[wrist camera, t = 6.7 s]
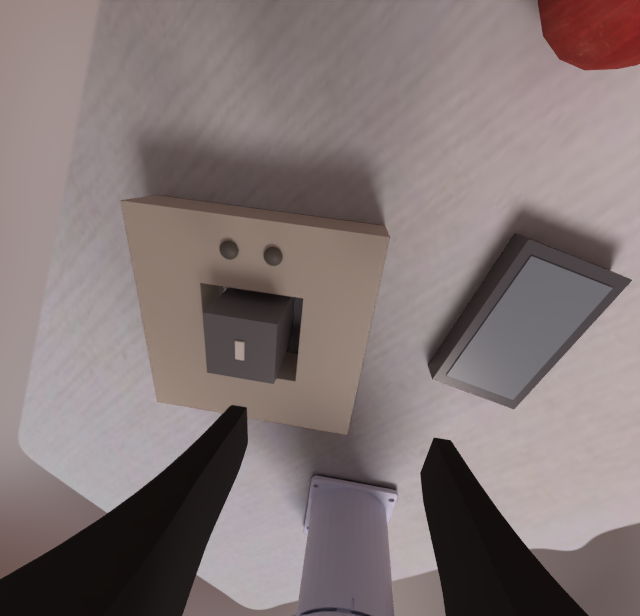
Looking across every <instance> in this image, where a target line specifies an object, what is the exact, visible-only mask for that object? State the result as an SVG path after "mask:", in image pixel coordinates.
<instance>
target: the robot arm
mask: <svg viewBox="0 0 640 616" xmlns="http://www.w3.org/2000/svg"><path fill="white" fill-rule="evenodd" d="M247 444H248V433H247V407H242V406H236V405H231V406H229V407H228V408H227V410H226V411H225V412H224V413H223V414H222V415H221V416H220V417H219V418H218V419H217V420H216V421H215V422H214V423H213V425H212V426H211V427H210V428H209V429H208V430H207V431H206V432H205V433H204V434H203V435H202V436H201V437H200V438H199V439H198V440H196V441H195V442H194V443H193V444H192V445H191V446H190V447H189V448H188V449H187V450H186V451H185V452H184V453H183V454H182V455H181V456H179V457H178V458H177V459H176V460H175V461H174V462H173V463H172V464H170V465H169V466H168V467H167V468H166V469H165V470H164V471H162V472H161V473H160V474H159V475H158V476H156V477H155V478H154V479H153V480H152V481H150V482H149V483H148V484H147V485H145V486H144V487H143V488H141V489H140V490H139V491H138V492H136V493H135V494H134V495H132V496H131V497H130V498H128V499H127V500H125V501H124V502H123V503H121V504H120V505H119V506H117V507H116V508H115V509H113V510H112V511H110V512H109V513H107V514H106V515H105V516H103V517H102V518H100V519H99V520H97V521H96V522H94V523H93V524H91V525H90V526H88V527H87V528H85V529H83V530H82V531H80V532H79V533H77V534H76V535H74V536H72V537H71V538H69V539H68V540H66V541H65V542H63V543H62V544H60V545H58V546H57V547H55V548H53V549H52V550H50V551H48V552H47V553H45V554H43V555H42V556H40V557H38V558H37V559H35V560H33V561H32V562H29V563H28V564H26V565H24V566H23V567H21V568H19V569H17V570H16V571H14V572H12V573H11V574H9V575H7V576H5V577H3V578H2V579H0V616H182V614H183V612H184V609H185V606H186V603H187V600H188V597H189V593H190V591H191V588H192V585H193V582H194V579H195V576H196V573H197V571H198V568H199V565H200V562H201V559H202V556H203V553H204V551H205V548H206V545H207V543H208V540H209V538H210V535H211V533H212V531H213V528H214V526H215V524H216V522H217V519H218V517H219V515H220V513H221V510H222V508H223V506H224V504H225V501H226V499H227V497H228V495H229V492H230V490H231V488H232V485H233V483H234V481H235V479H236V476H237V474H238V472H239V469H240V466H241V463H242V460H243V457H244V454H245V451H246V447H247ZM420 474H421V484H422V493H423V502H424V507H425V512H426V517H427V521H428V526H429V531H430V535H431V540H432V544H433V549H434V553H435V558H436V562H437V567H438V571H439V576H440V581H441V587H442V592H443V598H444V605H445V613H446V616H588V615H587V614H586V613H585V612H584V610H583V609H582V608H581V607H580V606H579V605H578V604H577V603H576V602H575V601H574V600H573V599H572V598H571V597H570V596H569V594H568V593H566V591H565V590H564V589H563V588H562V587H561V586H560V585H559V584H558V583H557V581H556V580H555V579H554V578H553V577H552V576H551V575H550V574H549V572H548V571H547V570H546V569H545V568H544V567H543V566H542V564H541V563H540V562H539V561H538V559H537V558H536V557H535V556H534V555H533V554H532V552H531V551H530V550H529V549H528V548H527V546H526V545H525V544H524V543H523V541H522V540H521V539H520V538H519V536H518V535H517V534H516V533H515V531H514V530H513V529H512V527H511V526H510V525H509V523H508V522H507V521H506V520H505V518H504V517H503V516H502V514H501V513H500V512H499V510H498V509H497V508H496V506H495V505H494V503H493V502H492V501H491V499H490V498H489V496H488V495H487V493H486V492H485V491H484V489H483V488H482V486H481V485H480V484H479V482H478V481H477V479H476V478H475V476H474V475H473V473H472V472H471V470H470V469H469V467H468V466H467V464H466V463H465V461H464V460H463V458H462V457H461V455H460V454H459V452H458V451H457V449H456V448H455V446H454V445H453V443H452V442H451V440H445V439H439V438H434V439H433V441H432V444H431V447H430V449H429V452H428V454H427V457H426V460H425V462H424V465H423V468H422V470H421V473H420ZM397 499H398V493H397V491H395V490H393V489H387V488H382V487H376V486H371V485H366V484H360V483H355V482H349V481H344V480H339V479H333V478H328V477H322V476H313V477H312V480H311V486H310V493H309V499H308V506H307V512H306V519H305V525H304V534H305V535H307V543H306V551H305V558H304V565H303V572H302V579H301V587H300V594H299V601H298V609H297V615H292V616H394V607H393V606H394V605H393V592H392V579H391V566H390V554H389V541H388V528H387V525H388V523H389V520H390V517H391V515H392V512H393V509H394V507H395V504H396V501H397Z"/></svg>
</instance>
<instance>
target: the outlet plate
mask: <svg viewBox="0 0 640 616" xmlns="http://www.w3.org/2000/svg"><path fill="white" fill-rule="evenodd" d="M121 206H122V211H123V217H124V222H125V228H126V233H127V239H128V244H129V250H130V255H131V261H132V266H133V272H134V277H135V283H136V288H137V294H138V299H139V305H140V310H141V316H142V321H143V327H144V332H145V338H146V343H147V349H148V354H149V360H150V365H151V371H152V376H153V382H154V387H155V393H156V398H157V402H162V403H168V404H173V405H179V406H185V407H190V408H196V409H202V410H207V411H213V412H219V413H224V412H225V411H226V410H227V408H228V407H229V406H231V405H236V406H242V407H247V418H253V419H259V420H264V421H270V422H276V423H281V424H287V425H293V426H298V427H304V428H310V429H315V430H321V431H327V432H332V433H338V434H344V435H347V434H348V429H349V425H350V420H351V415H352V411H353V406H354V402H355V397H356V392H357V388H358V383H359V378H360V374H361V369H362V365H363V360H364V355H365V351H366V346H367V341H368V337H369V332H370V327H371V323H372V318H373V314H374V309H375V304H376V300H377V295H378V290H379V286H380V281H381V276H382V272H383V267H384V263H385V258H386V253H387V249H388V244H389V239H390V236H389V234H388V231H387V229H386V227H385V226H382V225H375V224H367V223H360V222H352V221H345V220H338V219H330V218H323V217H315V216H308V215H300V214H293V213H286V212H278V211H271V210H263V209H256V208H248V207H241V206H233V205H226V204H219V203H211V202H204V201H196V200H189V199H181V198H174V197H167V196H159V195H153V196H147V197H140V198H134V199H127V200H121ZM223 286H224V287H230V288H237V289H244V290H250V291H257V292H264V293H270V294H277V295H283V296H290V297H297V298H303V307H302V318H301V329H300V339H299V350H298V354H294V353H287V352H286V354H285V357H284V359H283V362H282V364H281V367H280V370H279V372H278V375H277V378H276V380H275V383H274V384H270V383H264V382H259V381H253V380H247V379H241V378H235V377H229V376H224V375H218V374H212V373H207V365H206V351H205V336H204V322H203V312H204V311H205V310H206V309H207V308H208V307H209V306H210V305H211V304H212V303H213V302H214V301H215V300H216V299H217V298H218V297H219V296H220V295H222V294H223Z"/></svg>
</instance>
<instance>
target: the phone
mask: <svg viewBox="0 0 640 616" xmlns="http://www.w3.org/2000/svg"><path fill="white" fill-rule="evenodd" d="M631 281H632V280H631V279H629V278H626V277H624V276H622V275H619V274H617V273H615V272H612V271H610V270H607V269H605V268H602V267H600V266H597V265H595V264H592V263H590V262H587V261H585V260H582V259H579V258H577V257H574V256H572V255H569V254H567V253H564V252H562V251H559V250H557V249H554V248H552V247H549V246H547V245H544V244H542V243H539V242H536V241H534V240H531V239H529V238H526V237H524V236H521V235H519V234H516V233H515V234H514V236H513V237H512V239H511V240H510V242H509V243H508V245H507V246H506V248H505V249H504V251H503V252H502V254H501V255H500V257H499V258H498V260H497V261H496V263H495V264H494V266H493V267H492V269H491V270H490V272H489V274H488V275H487V277H486V278H485V280H484V281H483V283H482V284H481V286H480V287H479V289H478V290H477V292H476V293H475V295H474V296H473V298H472V299H471V301H470V302H469V304H468V305H467V307H466V308H465V310H464V311H463V313H462V314H461V316H460V317H459V319H458V320H457V322H456V323H455V325H454V326H453V328H452V329H451V331H450V332H449V334H448V336H447V337H446V339H445V340H444V342H443V343H442V345H441V346H440V348H439V349H438V351H437V352H436V354H435V355H434V357H433V358H432V360H431V361H430V363H429V364H428V368H429V371H430V374H431V376H432V379H433V380H436V381H438V382H441V383H444V384H446V385H449V386H452V387H455V388H457V389H460V390H463V391H466V392H468V393H471V394H474V395H476V396H479V397H482V398H485V399H487V400H490V401H493V402H496V403H498V404H501V405H504V406H506V407H509V408H512V409H515V408H516V407H517V406H518V405H519V403H520V402H521V401H522V400H523V399H524V398H525V397H526V396H527V395H528V394H529V393H530V391H531V390H532V389H533V388H534V387H535V386H536V385H537V384H538V383H539V382H540V380H541V379H542V378H543V377H544V376H545V375H546V374H547V373H548V372H549V371H550V370H551V368H552V367H553V366H554V365H555V364H556V363H557V362H558V361H559V360H560V359H561V358H562V356H563V355H564V354H565V353H566V352H567V351H568V350H569V349H570V348H571V347H572V345H573V344H574V343H575V342H576V341H577V340H578V339H579V338H580V337H581V336H582V335H583V333H584V332H585V331H586V330H587V329H588V328H589V327H590V326H591V325H592V324H593V322H594V321H595V320H596V319H597V318H598V317H599V316H600V315H601V314H602V313H603V312H604V310H605V309H606V308H607V307H608V306H609V305H610V304H611V303H612V302H613V301H614V300H615V298H616V297H617V296H618V295H619V294H620V293H621V292H622V291H623V290H624V289H625V287H626V286H627V285H628V284H629V283H630V282H631Z"/></svg>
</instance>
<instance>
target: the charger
mask: <svg viewBox="0 0 640 616" xmlns="http://www.w3.org/2000/svg"><path fill="white" fill-rule="evenodd" d="M294 301H295V297H290V296H283V295H277V294H270V293H264V292H257V291H250V290H244V289H237V288H230V287H229V288H228V289H227V290H226V291H225V292H224V293H223V294H222V295H220V296H219V297H218V298H217V299H216V300H215V301H214V302H213V303H212V304H211V305H210V306H209V307H208V308H207V309H206V310H205V311H204V312H203V322H204V336H205V351H206V365H207V373H212V374H218V375H224V376H229V377H235V378H241V379H247V380H253V381H259V382H264V383H270V384H274V383H275V380H276V378H277V375H278V372H279V370H280V367H281V364H282V362H283V359H284V357H285V354H286V351H287V349H288V346H289V344H290V341H291V337H292V325H293V313H294Z"/></svg>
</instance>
